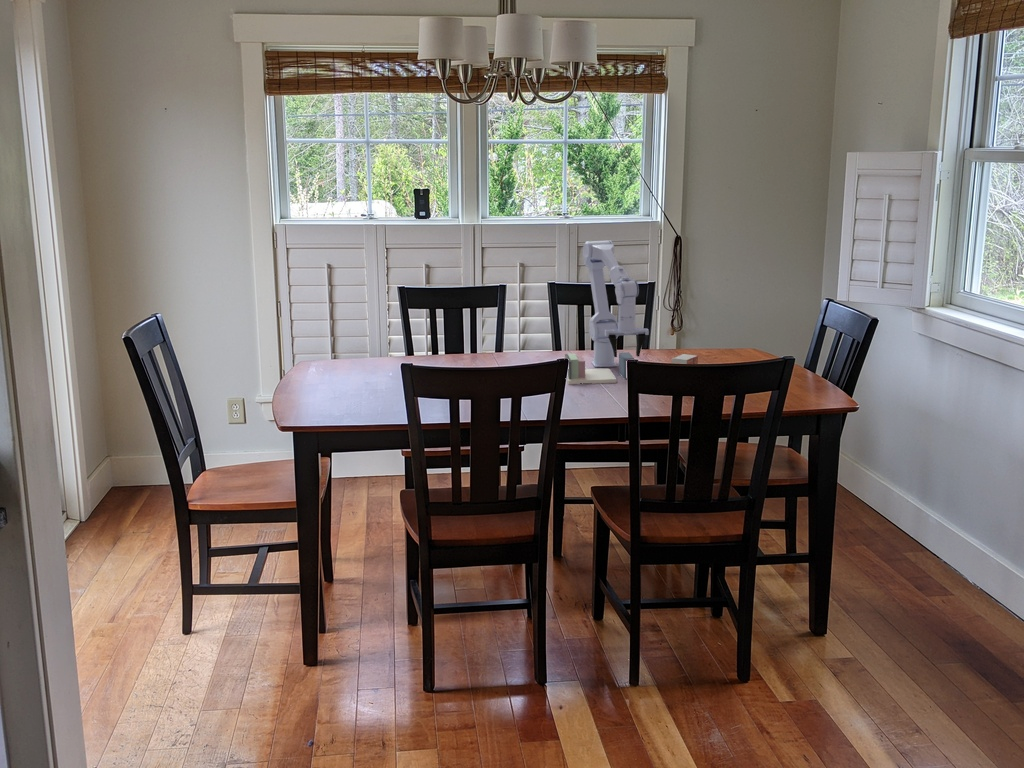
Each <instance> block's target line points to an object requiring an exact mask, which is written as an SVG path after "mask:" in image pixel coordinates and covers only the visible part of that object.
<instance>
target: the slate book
mask: <svg viewBox="0 0 1024 768" xmlns="http://www.w3.org/2000/svg"><path fill="white" fill-rule="evenodd" d="M628 359H634V360H635V357H634V356H633V355H632V354H631V353H630V351H629V352H619V353H618V373H619V375H620V374H621V375H622V376H621V378H622V379H623V378H625V379H624V380H627V379H626V361H627V360H628Z"/></svg>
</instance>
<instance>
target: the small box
mask: <svg viewBox="0 0 1024 768" xmlns="http://www.w3.org/2000/svg"><path fill="white" fill-rule="evenodd" d="M670 361H671V363H681V364H698V365H699V356H698V355H694V354H685V353H682V354H680V355H678V356H674V357H671V360H670ZM671 363H670V364H671Z"/></svg>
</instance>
